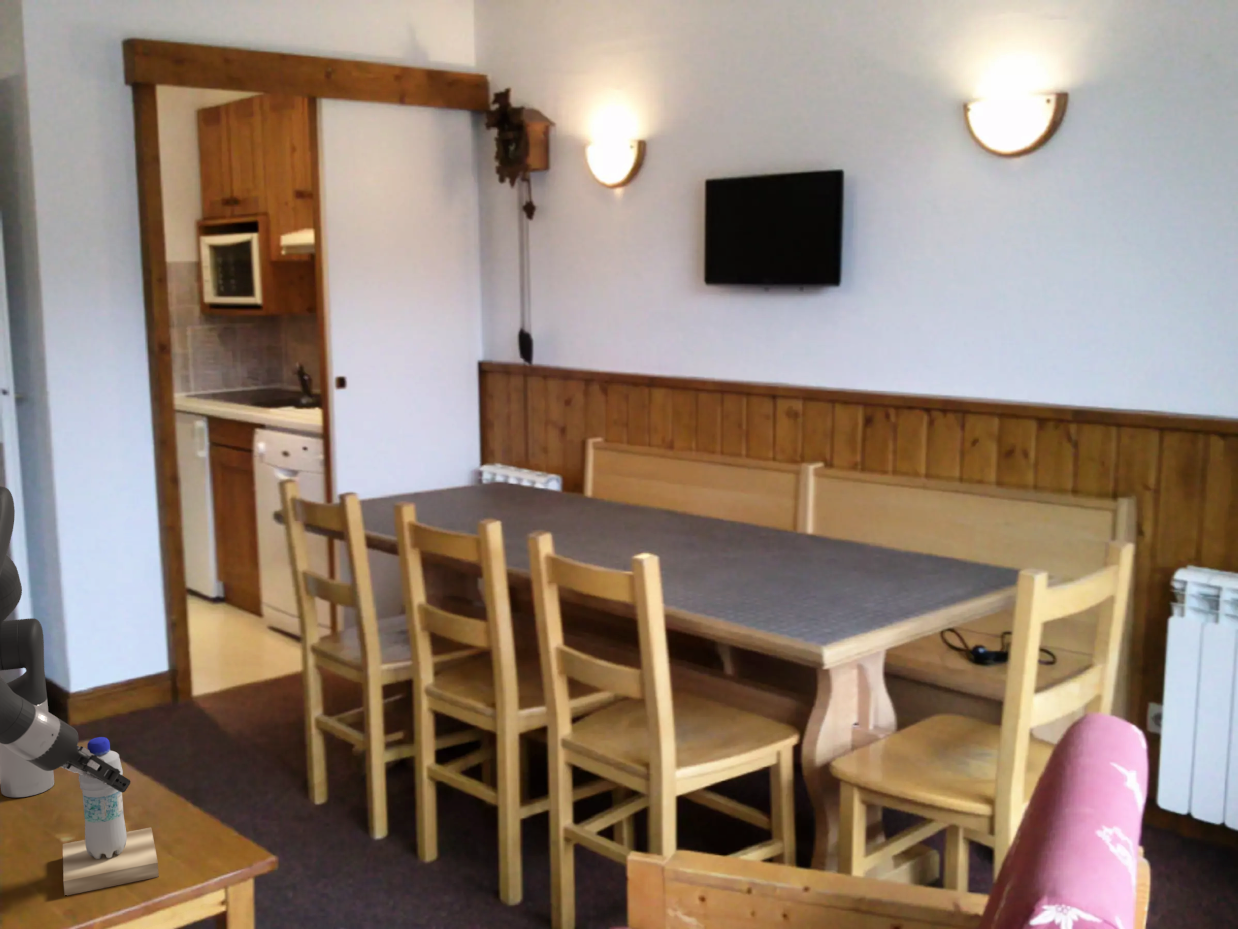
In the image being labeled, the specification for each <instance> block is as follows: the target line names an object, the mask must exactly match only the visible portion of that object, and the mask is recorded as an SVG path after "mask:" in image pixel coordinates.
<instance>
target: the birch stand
mask: <svg viewBox="0 0 1238 929" xmlns="http://www.w3.org/2000/svg"><path fill="white" fill-rule="evenodd" d="M126 836H127V841H126V845H125V847H124V849H123V851H122V852H121V853H120V854H119V855H117V854H116V853H115V851H114V852H113V854H112V857H111V858H107V857H106V855H105V854H101V858H100V859H96V858H94V857H93V856H90V855H89V854H88V852H87V850H86V844H85V839H80V840H78V841H77V840H75V841H71V842H66V843H62V870H63V871H62V872H63V874H62V876H63V892H64V896H65V895H67V896H70V895H76V894H80V893H85V892H91V891H95V890H100V889H105V888H110V887H114V886H120V885H121V886H122V885H125V884H130V883H135V882H139V881H144V880H149V879H155V878H159V876H160V874H159V862H158V856H157V850H156V846H155V841H154V840H155V839H154V833H153V830H152V827H146V828H141V829H136V830H129V831H126Z"/></svg>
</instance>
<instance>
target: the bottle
mask: <svg viewBox="0 0 1238 929" xmlns="http://www.w3.org/2000/svg"><path fill="white" fill-rule="evenodd" d="M86 749H88V750H89V751H90V753H92V754H94V755H96V756H97V757H99V758H101V759H103V760H104V762H106V763H107V764H109V765H111V766H112V767H114V768H117V769H119V771H120V774H121V775H122V776H123V773H124V771H123V768H122V767H123V766H122V763H121V759H120V754H119V753H118V752H116V751H114V750H111V743H110V740H109V739H108V738H107V737H104V736H99V737H94V738H92V739H89V741H88V742H87V747H86ZM107 772H108V770H107ZM107 772H106V773H107ZM87 773H88V772H87ZM106 773H105V775H106ZM88 774H90V773H88ZM105 775H104V776H105ZM78 782H79V789H80V790H81V792H82V803H83V813H84V814H83V815H84V840H85V844H86V850H87V852H88V854H89V855H90V856H93V857H94V858H96V859H100V858H101V854H105V855H106V857H107V858H111V857H112V854H113V852H114V851H115V853H116V854H117V855H119V854H120V853H121V852H122V851H123V849H124V847H125V845H126V841H127V836H126V832H127V829H126V822H125V816H124V802H123V793H122V792H120V791H118V790H116V789H114V788H113V787H111V786H109V785H107V784H103V782H101V781H100V780H98V779H96V778H95V779H93V780H90V779H88V778H87V777H85V776H83V775H81V774H79V773H78Z"/></svg>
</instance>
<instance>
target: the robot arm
mask: <svg viewBox="0 0 1238 929" xmlns="http://www.w3.org/2000/svg"><path fill="white" fill-rule="evenodd" d="M15 513H16V510H15V502H14V498H13V495H12V492H11V491H10V490H9V488H7V487H5V486H0V671H10V670H18V669H25V671H24V673H23V674H21V675H20V676H18V677H16V679H14V680H12V681H9V682H6V681H5V680H4V679H3V677H2V676H1V675H0V792H1V795H3V796H5V797H6V798H7V797H8V798H25V797H31V796H35V795H39V794H42V793H44V792H46V791H49V790H50V789H52V788H53V786H54V785H55V776H54V773H55V772H54V771H55V770H57V769H59V768H62V769H64V770H66V771H69V772H72V773H74V774H76V773H77V774H78V775H79V774H81V775H83V776H85V777H87V778H88V779H90V780H93V779H95V778H96V779H98V780H100V781H101V782H103V784H107V785H109V786H111V787H113V788H114V789H116V790H118V791H120V792H122V794H123V793H125V792H126V791H127V789H128V788H129V786H130V785H131V780H130V779H129V778H127V777H126V776H123V775H121V774H120V771H119V769H117V768H114V767H112V766H111V765H109V764H107V763H106V762H104V760H103V759H101V758H99V757H97V756H96V755H94V754H92V753H90V751H89V750H88V749H87V747H84V746H79V745H78V744H79V733H78V730H76V728H74V727H73V726H71V725H70V724H68V723H67V722H65V721H64V720H62V719H60V718H58V717H57V716H55V715H54V714H52V713H51V712H49V706H48V693H47V685H46V683H47V682H46V672H45V671H46V670H45V640H44V630H43V627H42V624H41V622H40V621H39V620H38V619H37V618H34V617H33V618H21V619H20V618H19V619H11V620H10V619H9V620H6V619H7V618H8V617H9V616H10V615H11V614H12V613H13V611H15V609H16V608H17V606H18V605H19V603H20V600H21V598H22V594H23V592H22V591H23V588H22V582H21V578H20V574H19V570H18V567H17V565H16V564H15V563H14V561H13V559H12V558H10V557H9V556H8V555H7V554H8V550H9V548H10V547H9V546H10V544H11V539H12V536H13V531H14V525H15ZM107 770H108V772H107ZM87 772H88V773H90V774H88V773H87ZM106 772H107V773H106ZM105 773H106V775H105ZM104 775H105V776H104Z"/></svg>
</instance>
